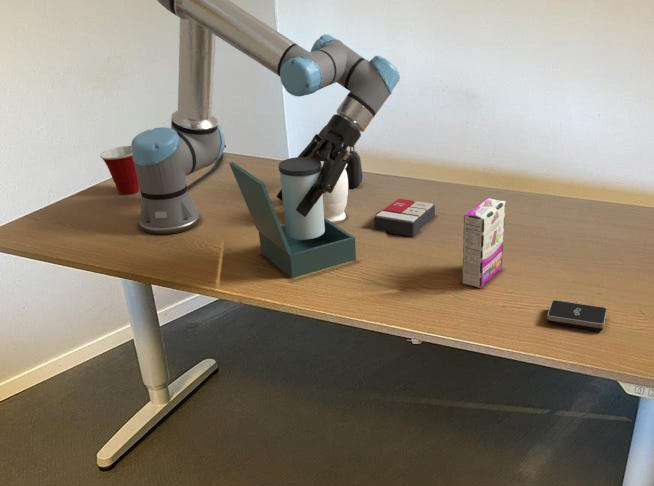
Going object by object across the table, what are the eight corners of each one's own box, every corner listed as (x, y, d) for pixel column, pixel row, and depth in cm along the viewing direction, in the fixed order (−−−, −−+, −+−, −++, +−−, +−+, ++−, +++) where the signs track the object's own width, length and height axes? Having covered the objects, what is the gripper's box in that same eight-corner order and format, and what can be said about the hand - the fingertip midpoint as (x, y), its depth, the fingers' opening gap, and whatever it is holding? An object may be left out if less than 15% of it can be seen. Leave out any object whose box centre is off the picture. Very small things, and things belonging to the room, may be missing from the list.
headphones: (346, 180, 216) (343, 112, 204) (365, 183, 213) (362, 114, 202) (305, 205, 199) (299, 132, 188) (325, 209, 197) (320, 135, 186)
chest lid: (232, 161, 158) (228, 162, 158) (264, 182, 147) (260, 184, 147) (259, 228, 170) (256, 229, 170) (291, 252, 158) (288, 254, 158)
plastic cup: (113, 185, 216) (103, 145, 209) (150, 183, 217) (141, 143, 210) (105, 198, 207) (95, 157, 200) (144, 196, 208) (135, 155, 201)
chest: (322, 238, 181) (320, 214, 177) (356, 262, 169) (355, 237, 166) (261, 255, 173) (258, 230, 170) (292, 281, 162) (290, 255, 158)
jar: (344, 227, 187) (341, 170, 178) (305, 224, 188) (301, 168, 180) (353, 211, 195) (351, 156, 187) (317, 209, 197) (313, 154, 189)
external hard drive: (551, 308, 149) (552, 299, 148) (606, 316, 146) (608, 307, 145) (545, 324, 144) (547, 315, 143) (603, 333, 141) (604, 324, 140)
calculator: (435, 202, 190) (413, 220, 178) (435, 218, 192) (413, 236, 180) (397, 196, 194) (373, 213, 182) (397, 212, 196) (373, 230, 184)
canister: (284, 224, 171) (278, 158, 162) (324, 222, 172) (320, 155, 163) (285, 241, 163) (278, 172, 154) (327, 238, 164) (322, 169, 155)
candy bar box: (482, 264, 167) (486, 196, 158) (502, 269, 165) (507, 200, 156) (460, 284, 159) (463, 213, 150) (480, 289, 157) (485, 218, 148)
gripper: (385, 145, 155) (324, 231, 157) (335, 122, 171) (280, 200, 173) (363, 124, 150) (301, 213, 152) (314, 102, 165) (258, 183, 167)
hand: (290, 206), depth 162 cm, fingers closed on canister, 9 cm apart
